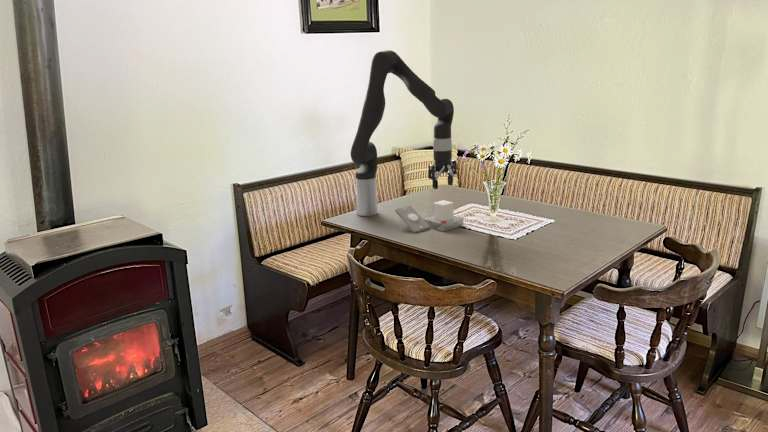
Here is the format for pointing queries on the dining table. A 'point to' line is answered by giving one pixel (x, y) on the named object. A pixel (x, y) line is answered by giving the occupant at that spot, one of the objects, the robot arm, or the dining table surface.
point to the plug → (443, 210)
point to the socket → (444, 223)
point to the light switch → (412, 219)
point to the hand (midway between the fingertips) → (442, 186)
